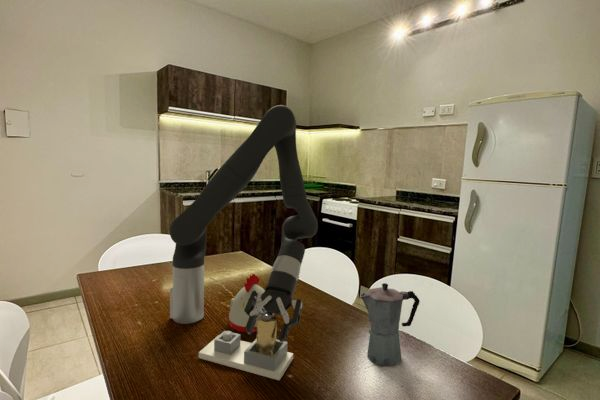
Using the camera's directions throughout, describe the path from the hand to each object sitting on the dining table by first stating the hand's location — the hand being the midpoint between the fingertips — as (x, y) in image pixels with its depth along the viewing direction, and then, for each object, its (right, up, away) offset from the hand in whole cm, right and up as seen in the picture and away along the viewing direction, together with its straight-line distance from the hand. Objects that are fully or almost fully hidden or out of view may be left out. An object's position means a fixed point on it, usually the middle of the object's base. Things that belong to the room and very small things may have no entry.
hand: (264, 337), depth 79 cm
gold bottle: (0, -6, +2) cm, 6 cm away
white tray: (-5, -7, +4) cm, 10 cm away
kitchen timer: (-7, -5, +24) cm, 25 cm away
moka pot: (+31, -8, +7) cm, 33 cm away
